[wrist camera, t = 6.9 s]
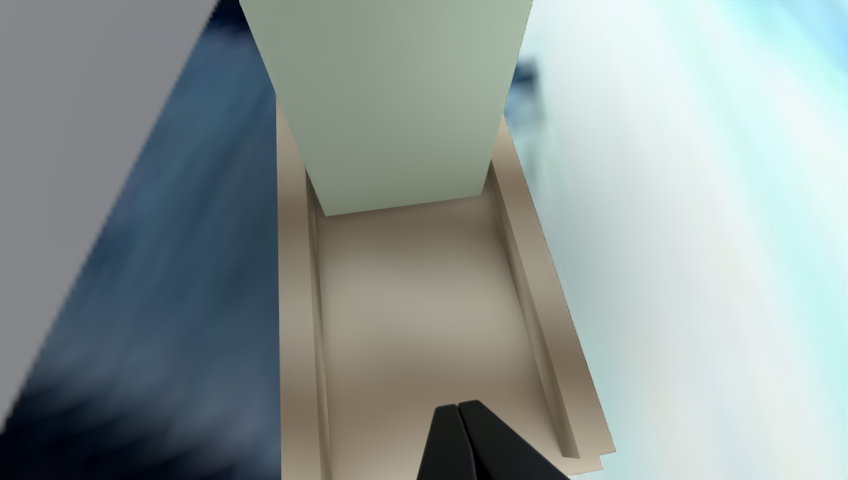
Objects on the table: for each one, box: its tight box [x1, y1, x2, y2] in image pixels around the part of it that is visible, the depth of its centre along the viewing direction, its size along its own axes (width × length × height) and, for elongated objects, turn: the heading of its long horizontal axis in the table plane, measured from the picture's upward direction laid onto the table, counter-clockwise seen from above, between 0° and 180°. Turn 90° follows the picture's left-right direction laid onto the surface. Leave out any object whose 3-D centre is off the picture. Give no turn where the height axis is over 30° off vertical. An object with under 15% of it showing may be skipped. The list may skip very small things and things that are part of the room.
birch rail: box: [276, 94, 616, 480], centre depth 15 cm, size 17×9×2 cm, turn 10°
